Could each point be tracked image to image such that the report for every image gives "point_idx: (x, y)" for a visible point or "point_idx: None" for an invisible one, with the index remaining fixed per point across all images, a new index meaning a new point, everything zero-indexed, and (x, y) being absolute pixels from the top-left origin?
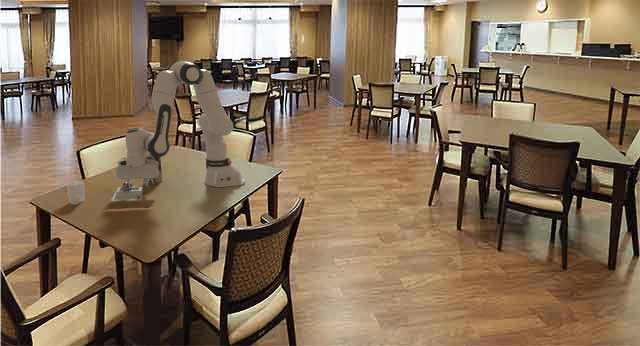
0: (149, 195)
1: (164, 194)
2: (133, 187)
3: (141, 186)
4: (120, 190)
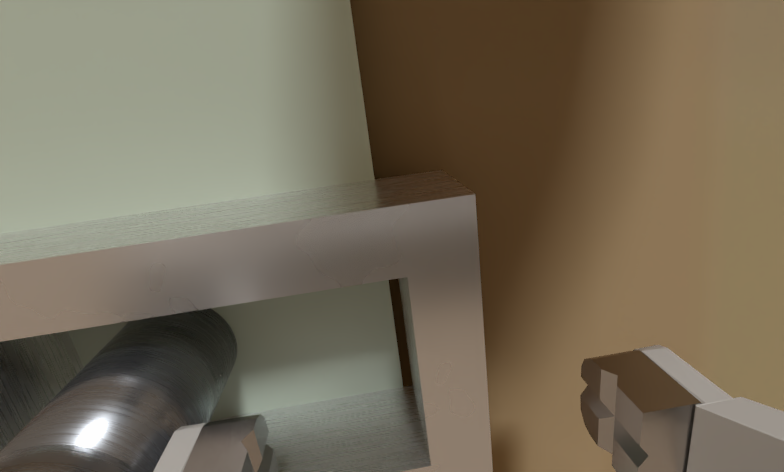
0: (549, 266)
1: (770, 214)
2: (262, 298)
3: (446, 224)
4: (15, 409)
